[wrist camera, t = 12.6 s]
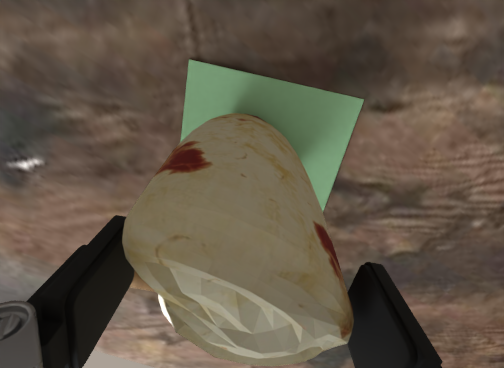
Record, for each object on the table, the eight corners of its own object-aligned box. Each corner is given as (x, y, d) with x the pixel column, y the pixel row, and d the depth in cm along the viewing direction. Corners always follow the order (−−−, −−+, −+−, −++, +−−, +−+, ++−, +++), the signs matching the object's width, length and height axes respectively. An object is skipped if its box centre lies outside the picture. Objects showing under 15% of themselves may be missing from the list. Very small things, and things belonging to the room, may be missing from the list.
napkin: (175, 197, 29) (174, 198, 29) (189, 59, 24) (188, 59, 23) (316, 226, 30) (317, 228, 30) (363, 99, 24) (364, 99, 24)
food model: (315, 149, 26) (437, 344, 8) (271, 196, 28) (284, 433, 10) (236, 83, 24) (144, 133, 6) (195, 139, 26) (33, 307, 8)
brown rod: (93, 270, 30) (84, 282, 29) (93, 258, 30) (83, 269, 28) (167, 284, 31) (161, 296, 29) (168, 272, 30) (162, 284, 28)
